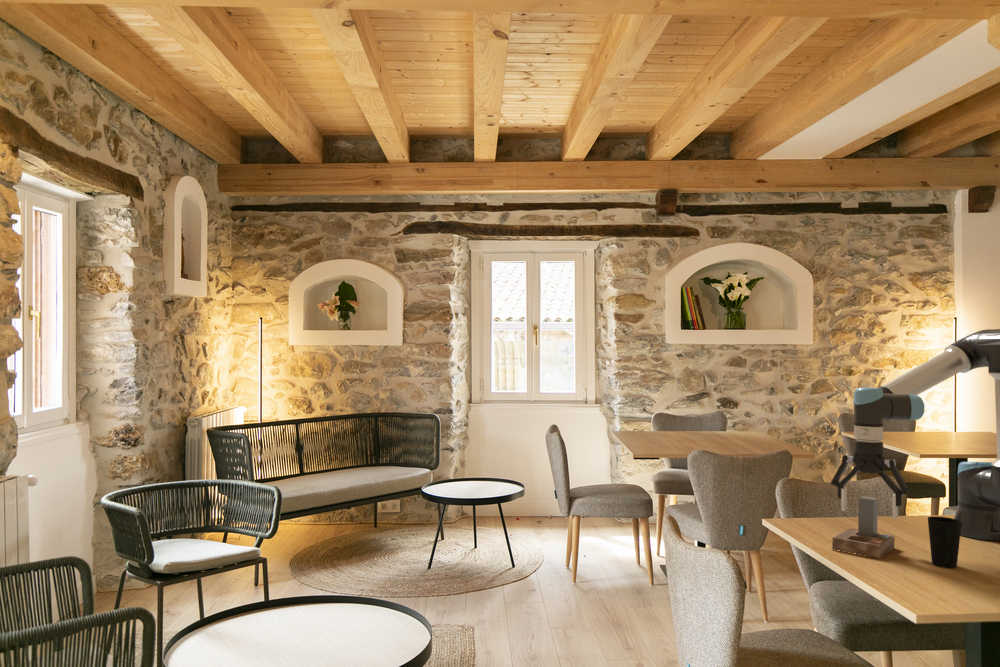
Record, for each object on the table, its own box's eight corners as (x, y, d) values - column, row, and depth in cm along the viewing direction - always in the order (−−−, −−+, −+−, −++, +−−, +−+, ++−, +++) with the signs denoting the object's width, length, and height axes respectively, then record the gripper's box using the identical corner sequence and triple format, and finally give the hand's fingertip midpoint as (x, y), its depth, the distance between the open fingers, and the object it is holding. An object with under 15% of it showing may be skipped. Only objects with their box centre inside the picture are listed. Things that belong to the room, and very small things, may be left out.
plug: (877, 546, 204) (877, 498, 204) (873, 549, 201) (873, 500, 201) (862, 543, 207) (862, 496, 207) (858, 546, 204) (858, 497, 204)
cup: (950, 570, 181) (950, 524, 182) (921, 562, 188) (921, 517, 189) (967, 567, 185) (967, 521, 185) (938, 559, 192) (938, 515, 192)
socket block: (894, 548, 203) (894, 534, 203) (879, 558, 191) (879, 544, 191) (849, 539, 211) (849, 526, 211) (832, 549, 199) (832, 536, 199)
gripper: (819, 437, 210) (819, 509, 210) (914, 445, 194) (914, 523, 193) (827, 435, 216) (828, 505, 215) (920, 443, 199) (921, 518, 198)
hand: (869, 513), depth 204 cm, fingers open, 13 cm apart
